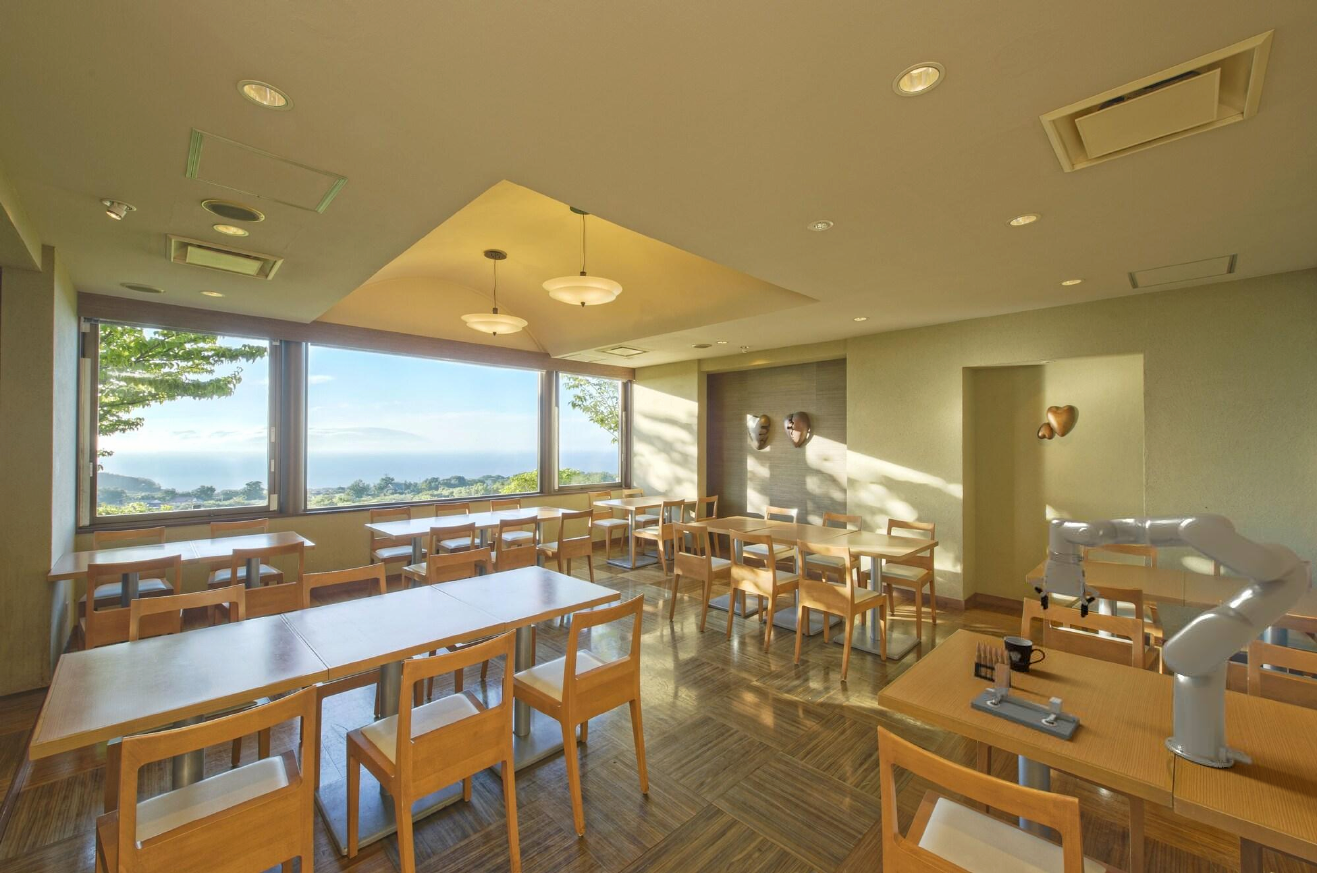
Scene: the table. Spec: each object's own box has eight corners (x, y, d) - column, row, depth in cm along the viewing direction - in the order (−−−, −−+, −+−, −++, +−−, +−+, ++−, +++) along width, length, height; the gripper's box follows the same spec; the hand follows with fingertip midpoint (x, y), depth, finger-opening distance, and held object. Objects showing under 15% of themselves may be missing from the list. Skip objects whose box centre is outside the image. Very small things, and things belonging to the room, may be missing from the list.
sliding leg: (1009, 697, 166) (1009, 665, 167) (999, 706, 161) (999, 673, 161) (998, 693, 169) (998, 662, 169) (988, 702, 163) (988, 670, 163)
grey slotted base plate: (1079, 723, 155) (1079, 702, 155) (1067, 740, 145) (1067, 718, 145) (986, 693, 173) (986, 674, 173) (970, 707, 163) (971, 687, 163)
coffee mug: (998, 665, 195) (998, 637, 195) (1015, 662, 198) (1015, 635, 198) (1028, 678, 184) (1028, 649, 184) (1046, 675, 187) (1047, 647, 187)
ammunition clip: (1011, 685, 179) (1011, 649, 179) (1009, 687, 177) (1009, 651, 178) (976, 674, 187) (976, 640, 187) (974, 676, 186) (974, 641, 186)
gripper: (1102, 561, 163) (1102, 617, 163) (1034, 552, 176) (1034, 604, 176) (1097, 564, 158) (1096, 622, 158) (1028, 555, 171) (1027, 608, 171)
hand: (1064, 612), depth 167 cm, fingers open, 9 cm apart
